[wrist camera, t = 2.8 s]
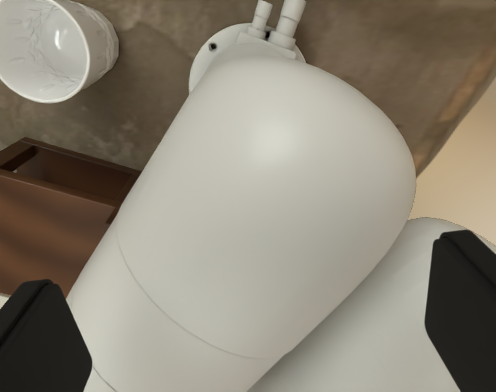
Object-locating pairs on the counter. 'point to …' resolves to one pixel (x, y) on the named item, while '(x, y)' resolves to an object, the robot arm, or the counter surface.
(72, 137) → the counter surface
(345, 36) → the counter surface
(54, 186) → the shelf stand
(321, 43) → the counter surface
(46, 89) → the white cup
